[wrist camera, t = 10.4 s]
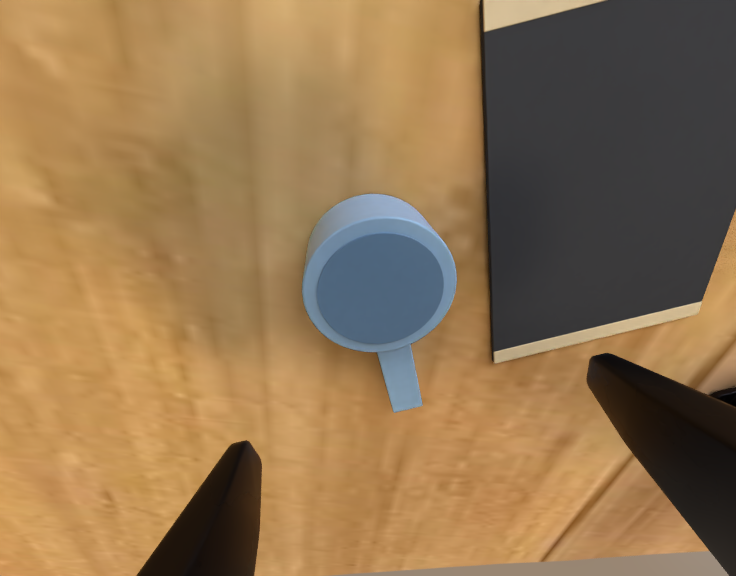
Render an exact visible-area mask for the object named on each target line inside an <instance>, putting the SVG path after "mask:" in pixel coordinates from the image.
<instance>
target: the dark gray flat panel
mask: <svg viewBox="0 0 736 576" xmlns="http://www.w3.org/2000/svg"><path fill="white" fill-rule="evenodd" d="M480 15H481V44H482V73H483V102H484V131H485V161H486V190H487V219H488V248H489V277H490V307H491V336H492V361H493V362H494V363H499V362H504V361H508V360H512V359H516V358H520V357H524V356H528V355H532V354H537V353H541V352H545V351H549V350H553V349H557V348H561V347H565V346H569V345H574V344H578V343H582V342H586V341H590V340H594V339H598V338H602V337H607V336H611V335H615V334H619V333H623V332H627V331H631V330H635V329H640V328H644V327H648V326H652V325H656V324H660V323H664V322H668V321H672V320H677V319H681V318H685V317H689V316H693V315H697V314H698V312H699V309H700V306H701V304H702V299H703V296H704V294H705V291H706V288H707V285H708V283H709V280H710V277H711V275H712V272H713V269H714V266H715V264H716V261H717V258H718V256H719V253H720V250H721V247H722V245H723V242H724V239H725V236H726V234H727V231H728V228H729V226H730V223H731V220H732V217H733V215H734V212H735V209H736V0H480Z"/></svg>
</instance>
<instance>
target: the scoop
mask: <svg viewBox="0 0 736 576" xmlns="http://www.w3.org/2000/svg"><path fill="white" fill-rule="evenodd" d="M456 283H457V276H456V267H455V263H454V260H453V257H452V255H451V253H450V251H449V249H448V247H447V246H446V244H445V243H444V242H443V240H442V239H441V238H440V237H439V235H438V234H437V233H436V232H435V231H434V229H433V228H432V227H431V226H430V225H429V223H428V222H427V221H426V220H425V219H424V217H423V216H422V215H421V214H420V213H419V212H418V211H417V210H416V209H415V208H414V207H412V206H411V205H410V204H408V203H406V202H405V201H403V200H401V199H398V198H395V197H393V196H388V195H384V194H364V195H359V196H355V197H352V198H349V199H346V200H344V201H342V202H340V203H338V204H337V205H335V206H334V207H332V208H331V209H330V210H329V211H327V212H326V213H325V214H324V215H323V216H322V217H321V219H320V220H319V221H318V223H317V224H316V226H315V227H314V229H313V231H312V233H311V235H310V239H309V242H308V247H307V253H306V260H305V267H304V274H303V281H302V297H303V303H304V306H305V309H306V312H307V314H308V316H309V318H310V319H311V321H312V322H313V324H314V325H315V327H316V328H317V329H318V330H319V331H320V332H321V333H322V334H323V335H324V336H326V337H327V338H328V339H330V340H331V341H333V342H334V343H337V344H339V345H341V346H343V347H346V348H349V349H352V350H357V351H363V352H377V355H378V358H379V362H380V366H381V369H382V373H383V376H384V380H385V384H386V387H387V391H388V395H389V398H390V402H391V405H392V409H393V412H394V413H395V412H399V411H403V410H407V409H412V408H416V407H420V406H422V405H423V404H422V399H421V394H420V389H419V384H418V379H417V374H416V369H415V364H414V359H413V354H412V349H411V344H412V343H414V342H416V341H418V340H419V339H421V338H422V337H424V336H425V335H427V334H428V333H429V332H430V331H432V330H433V329H434V328H435V327H436V326H437V325H438V324H439V323H440V322H441V320H442V319H443V318H444V316H445V315H446V313H447V311H448V310H449V308H450V306H451V303H452V301H453V298H454V294H455V290H456Z"/></svg>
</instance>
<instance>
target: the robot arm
mask: <svg viewBox="0 0 736 576" xmlns="http://www.w3.org/2000/svg"><path fill="white" fill-rule="evenodd" d="M587 384H588V386H589V388H590V390H591V391H592V393H593V394H594V396H595V398H596V399H597V401H598V402H599V404H600V405H601V407H602V408H603V410H604V411H605V413H606V415H607V416H608V418H609V419H610V421H611V422H612V424H613V425H614V427H615V428H616V430H617V432H618V433H619V435H620V436H621V438H622V439H623V441H624V442H625V443H626V445H627V446H628V447H629V449H630V450H631V451H632V453H633V454H634V455H635V457H636V458H637V459H638V460H639V462H640V463H641V464H642V466H643V467H644V468H645V469H646V471H647V472H648V473H649V474H650V476H651V477H652V478H653V479H654V481H655V482H656V483H657V485H658V486H659V487H660V488H661V490H662V491H663V492H664V493H665V495H666V496H667V497H668V499H669V500H670V501H671V502H672V504H673V505H674V506H675V507H676V509H677V510H678V511H679V512H680V514H681V515H682V516H683V518H684V519H685V520H686V521H687V523H688V524H689V525H690V526H691V528H692V529H693V530H694V531H695V533H696V534H697V535H698V537H699V538H700V539H701V540H702V542H703V543H704V544H705V545H706V547H707V548H708V549H709V551H710V552H711V553H712V554H713V556H714V557H715V558H716V559H717V560H718V562H719V563H720V564H721V566H722V567H723V568H724V569H725V571H726V572H727V573H728V574H729V576H736V387H735V388H730V389H726V390H722V391H718V392H715V393H713V394H712V395H711V396H709V395H706V394H704V393H702V392H699V391H697V390H695V389H692V388H690V387H688V386H685V385H683V384H681V383H678V382H676V381H674V380H671V379H669V378H667V377H664V376H662V375H660V374H657V373H655V372H653V371H650V370H648V369H646V368H643V367H641V366H639V365H636V364H634V363H632V362H629V361H627V360H625V359H622V358H620V357H618V356H615V355H613V354H610V353H604V354H600V355H596V356H593V357H591V359H590V361H589V367H588V373H587ZM261 476H262V463H261V459H260V457H259V455H258V454H257V452H256V451H255V449H254V448H253V446H252V445H251V443H250V442H249V441H247V440H245V441H241V442H237V443H233V444H232V445H230V446H229V448H228V449H227V450H226V452H225V453H224V454H223V456H222V457H221V459H220V460H219V461H218V463H217V464H216V466H215V467H214V468H213V470H212V471H211V473H210V474H209V475H208V477H207V478H206V480H205V481H204V482H203V484H202V485H201V486H200V488H199V489H198V491H197V492H196V493H195V495H194V496H193V498H192V499H191V500H190V502H189V503H188V505H187V506H186V507H185V509H184V510H183V512H182V513H181V514H180V516H179V517H178V519H177V520H176V521H175V523H174V524H173V526H172V527H171V528H170V530H169V531H168V532H167V534H166V535H165V537H164V538H163V539H162V541H161V542H160V544H159V545H158V546H157V548H156V549H155V551H154V552H153V553H152V555H151V556H150V558H149V559H148V560H147V562H146V563H145V565H144V566H143V567H142V569H141V570H140V571H139V573H138V574H137V576H254V572H255V564H256V556H257V549H258V541H259V531H260V508H261Z"/></svg>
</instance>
